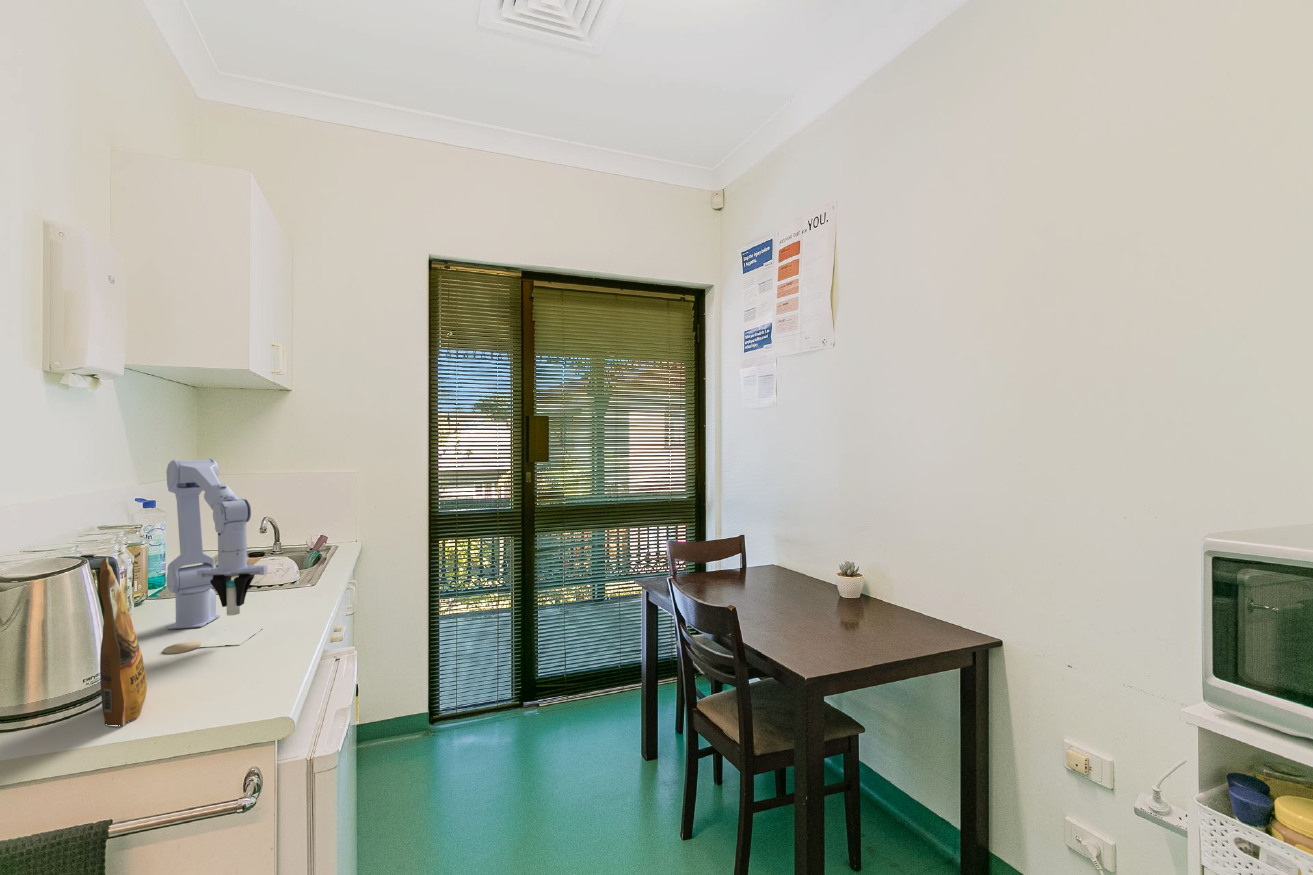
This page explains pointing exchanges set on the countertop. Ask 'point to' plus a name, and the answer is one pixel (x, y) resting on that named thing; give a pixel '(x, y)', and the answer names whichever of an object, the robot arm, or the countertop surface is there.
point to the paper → (220, 643)
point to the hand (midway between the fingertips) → (233, 605)
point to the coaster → (181, 647)
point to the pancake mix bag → (119, 656)
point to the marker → (231, 599)
